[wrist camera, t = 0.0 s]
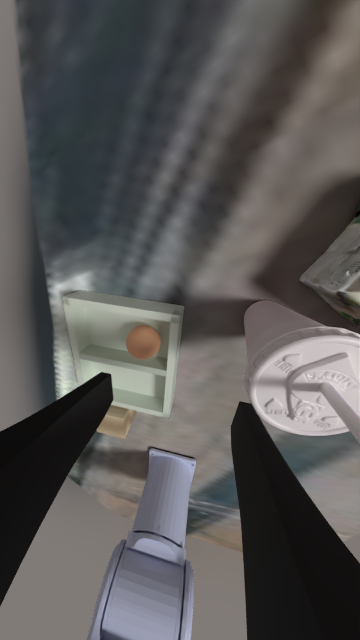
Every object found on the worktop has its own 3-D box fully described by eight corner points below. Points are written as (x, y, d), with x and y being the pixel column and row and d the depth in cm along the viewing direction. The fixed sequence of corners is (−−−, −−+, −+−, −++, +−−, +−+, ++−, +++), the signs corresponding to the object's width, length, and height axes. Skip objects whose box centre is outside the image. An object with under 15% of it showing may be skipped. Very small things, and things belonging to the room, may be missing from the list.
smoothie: (312, 294, 15) (794, 523, 3) (281, 352, 18) (447, 601, 5) (241, 279, 16) (360, 408, 3) (222, 337, 18) (244, 532, 6)
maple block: (136, 412, 26) (124, 438, 23) (112, 406, 27) (97, 431, 23) (136, 393, 25) (123, 419, 21) (110, 387, 25) (93, 411, 21)
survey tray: (173, 400, 24) (168, 418, 21) (94, 382, 25) (81, 397, 22) (184, 306, 18) (180, 315, 15) (81, 290, 19) (61, 296, 17)
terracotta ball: (163, 350, 20) (154, 369, 16) (134, 344, 20) (120, 363, 17) (165, 322, 18) (155, 338, 15) (134, 317, 19) (118, 332, 15)
